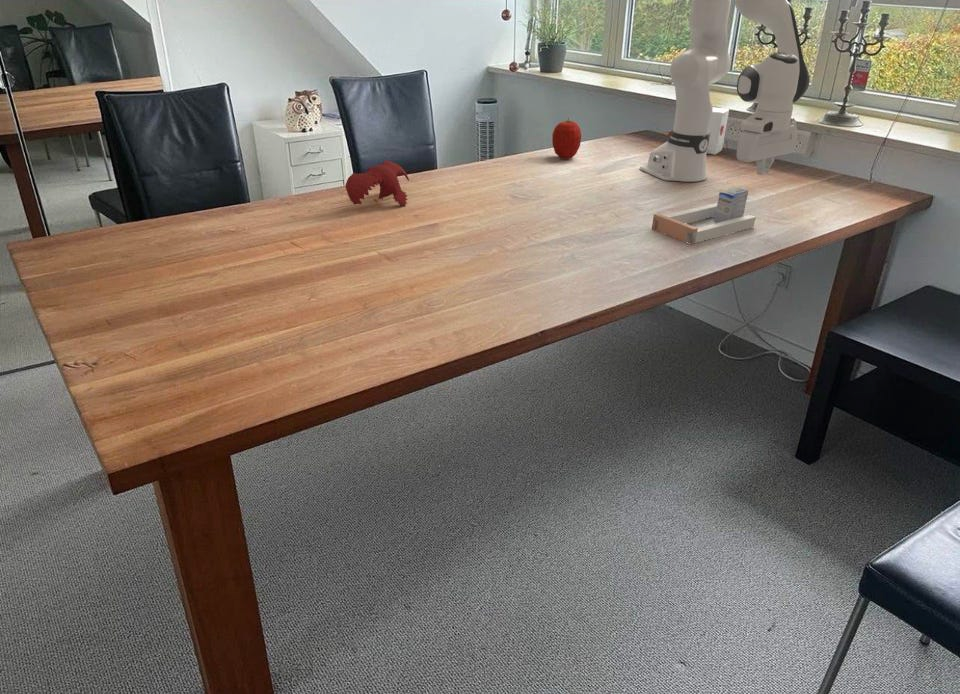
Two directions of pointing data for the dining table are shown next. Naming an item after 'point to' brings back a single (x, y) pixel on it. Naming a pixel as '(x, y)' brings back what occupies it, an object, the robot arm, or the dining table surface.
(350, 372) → the dining table surface
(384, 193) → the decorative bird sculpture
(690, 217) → the shallow open rectangular tray
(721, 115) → the supplement box
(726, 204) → the medicine box
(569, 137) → the apple
